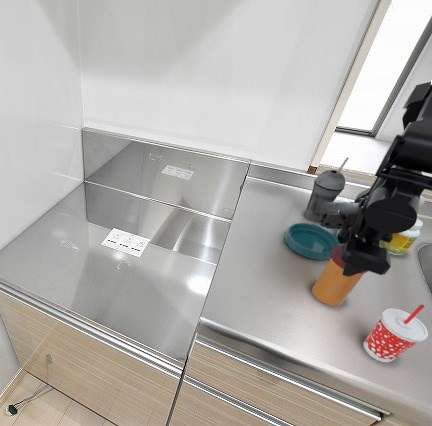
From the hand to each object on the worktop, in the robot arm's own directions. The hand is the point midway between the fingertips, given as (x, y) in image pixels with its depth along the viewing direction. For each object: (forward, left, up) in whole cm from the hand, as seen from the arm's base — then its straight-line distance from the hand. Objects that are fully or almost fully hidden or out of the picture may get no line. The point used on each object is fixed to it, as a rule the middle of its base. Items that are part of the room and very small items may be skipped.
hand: (346, 265), depth 60 cm
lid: (0, 0, +2) cm, 2 cm away
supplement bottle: (-28, +10, -10) cm, 31 cm away
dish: (-16, -7, -10) cm, 20 cm away
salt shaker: (-35, +9, -10) cm, 37 cm away
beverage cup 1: (-31, -9, -10) cm, 34 cm away
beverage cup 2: (+8, +10, -10) cm, 17 cm away
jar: (0, 0, -10) cm, 10 cm away
